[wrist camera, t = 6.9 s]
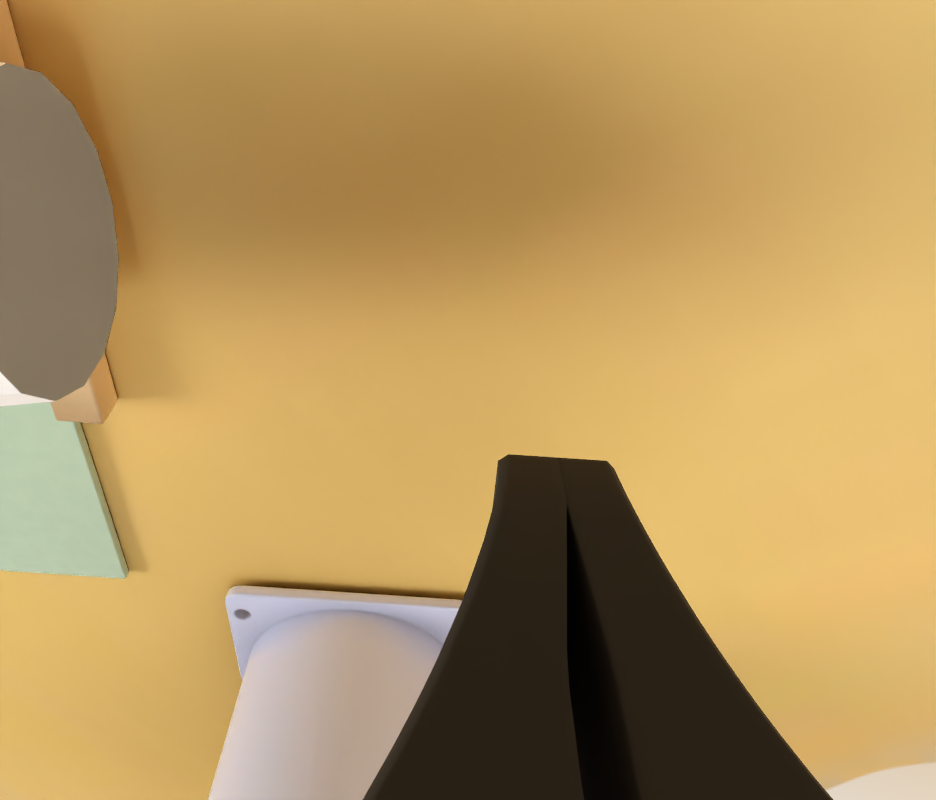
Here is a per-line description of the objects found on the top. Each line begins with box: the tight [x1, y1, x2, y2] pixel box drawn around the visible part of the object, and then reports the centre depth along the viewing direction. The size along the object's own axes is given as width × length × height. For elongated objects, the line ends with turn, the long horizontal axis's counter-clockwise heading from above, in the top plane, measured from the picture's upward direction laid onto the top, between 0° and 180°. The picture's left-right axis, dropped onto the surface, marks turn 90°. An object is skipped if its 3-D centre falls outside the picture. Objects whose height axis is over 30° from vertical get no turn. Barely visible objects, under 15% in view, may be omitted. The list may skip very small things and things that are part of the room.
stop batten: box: [0, 0, 117, 424], centre depth 16 cm, size 12×1×1 cm, turn 176°
